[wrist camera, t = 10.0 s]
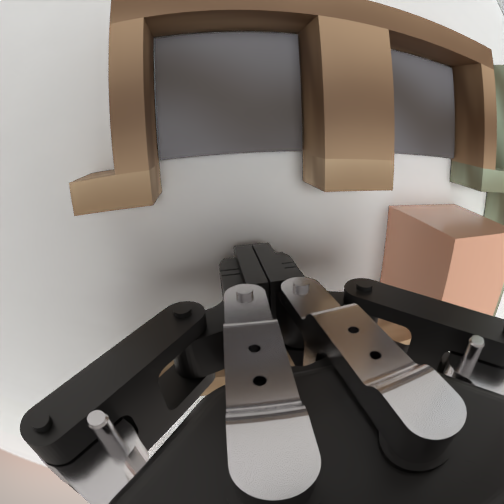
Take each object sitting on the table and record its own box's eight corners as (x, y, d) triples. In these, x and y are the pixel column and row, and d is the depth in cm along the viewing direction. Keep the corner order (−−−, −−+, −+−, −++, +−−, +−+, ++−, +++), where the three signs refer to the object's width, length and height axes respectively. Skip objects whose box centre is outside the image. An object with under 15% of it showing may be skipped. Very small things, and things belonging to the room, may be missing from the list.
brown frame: (87, 28, 9) (66, 9, 6) (497, 70, 12) (525, 70, 10) (137, 366, 15) (131, 399, 13) (472, 305, 18) (492, 322, 16)
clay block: (388, 205, 14) (455, 238, 10) (453, 203, 15) (516, 231, 10) (377, 292, 16) (427, 345, 12) (439, 280, 17) (491, 320, 12)
